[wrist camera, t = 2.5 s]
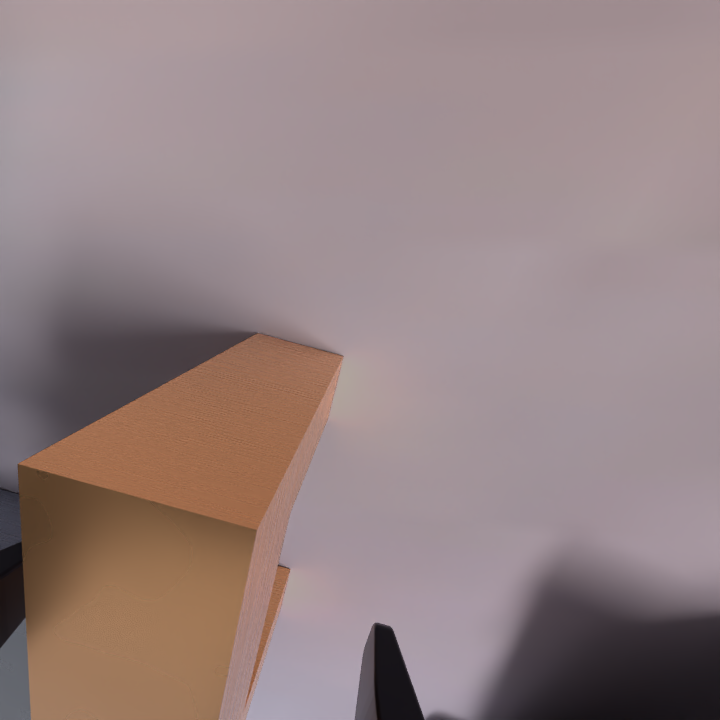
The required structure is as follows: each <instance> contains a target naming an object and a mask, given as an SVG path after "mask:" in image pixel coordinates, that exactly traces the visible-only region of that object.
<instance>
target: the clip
mask: <svg viewBox="0 0 720 720" xmlns="http://www.w3.org/2000/svg"><path fill="white" fill-rule="evenodd" d="M342 360H343V356H341V355H337V354H334V353H330V352H326V351H322V350H319V349H315V348H311V347H308V346H304V345H300V344H296V343H293V342H289V341H285V340H282V339H278V338H274V337H270V336H267V335H263V334H259V333H257V334H255V335H253V336H252V337H250V338H248V339H246V340H244V341H242V342H241V343H239V344H237V345H235V346H233V347H231V348H230V349H228V350H226V351H224V352H222V353H220V354H219V355H217V356H215V357H213V358H211V359H209V360H208V361H206V362H204V363H202V364H200V365H198V366H197V367H195V368H193V369H191V370H189V371H187V372H185V373H184V374H182V375H180V376H178V377H176V378H174V379H173V380H171V381H169V382H167V383H165V384H163V385H162V386H160V387H158V388H156V389H154V390H152V391H151V392H149V393H147V394H145V395H143V396H141V397H140V398H138V399H136V400H134V401H132V402H130V403H129V404H127V405H125V406H123V407H121V408H119V409H118V410H116V411H114V412H112V413H110V414H108V415H107V416H105V417H103V418H101V419H99V420H97V421H96V422H94V423H92V424H90V425H88V426H86V427H85V428H83V429H81V430H79V431H77V432H75V433H73V434H72V435H70V436H68V437H66V438H64V439H62V440H61V441H59V442H57V443H55V444H53V445H51V446H50V447H48V448H46V449H44V450H42V451H40V452H39V453H37V454H35V455H33V456H31V457H29V458H28V459H26V460H24V461H22V462H20V463H18V480H19V499H20V518H21V537H22V556H23V575H24V594H25V614H26V633H27V652H28V671H29V690H30V709H31V720H245V719H246V716H247V713H248V710H249V707H250V704H251V700H252V697H253V694H254V691H255V688H256V685H257V681H258V678H259V675H260V672H261V669H262V666H263V663H264V659H265V656H266V653H267V650H268V647H269V644H270V640H271V637H272V634H273V631H274V628H275V625H276V622H277V618H278V615H279V612H280V609H281V605H282V601H283V597H284V593H285V589H286V585H287V581H288V577H289V573H290V569H287V568H284V567H280V566H278V563H279V558H280V554H281V550H282V546H283V541H284V537H285V533H286V529H287V524H288V520H289V516H290V512H291V510H292V507H293V505H294V502H295V500H296V497H297V495H298V492H299V490H300V487H301V485H302V482H303V480H304V477H305V475H306V472H307V470H308V467H309V465H310V462H311V460H312V457H313V455H314V452H315V450H316V447H317V445H318V442H319V440H320V437H321V435H322V432H323V430H324V427H325V425H326V422H327V420H328V416H329V412H330V408H331V404H332V400H333V396H334V392H335V388H336V384H337V380H338V376H339V372H340V368H341V364H342Z"/></svg>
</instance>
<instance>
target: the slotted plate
mask: <svg viewBox="0 0 720 720" xmlns="http://www.w3.org/2000/svg"><path fill="white" fill-rule="evenodd" d="M20 541H22V537H21V518H20V499H19V494H16V493H12V492H9V491H5V490H1V489H0V550H2V549H4V548H6V547H9V546H11V545H13V544H16V543H18V542H20ZM0 720H31V709H30V690H29V671H28V652H27V633H26V618H25V619H24V620H23V622H22V623H21V624H20V625H19V626H18V628H17V629H16V630H15V631H14V633H13V634H12V635H11V636H10V638H9V639H8V640H7V641H6V642H5V644H4V645H3V646H2V647H1V648H0Z"/></svg>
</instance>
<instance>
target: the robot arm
mask: <svg viewBox="0 0 720 720" xmlns="http://www.w3.org/2000/svg"><path fill="white" fill-rule="evenodd" d="M25 618H26V614H25V594H24V575H23V556H22V541H20V542H18V543H16V544H13V545H11V546H9V547H6V548H4V549H2V550H0V648H1V647H2V646H3V645H4V644H5V642H6V641H7V640H8V639H9V638H10V636H11V635H12V634H13V633H14V631H15V630H16V629H17V628H18V626H19V625H20V624H21V623H22V622H23V620H24V619H25ZM355 720H425V719H424V717H423V714H422V711H421V708H420V705H419V702H418V700H417V697H416V694H415V691H414V688H413V685H412V682H411V680H410V677H409V674H408V671H407V668H406V665H405V662H404V660H403V657H402V654H401V651H400V648H399V645H398V642H397V640H396V637H395V634H394V631H393V629H392V628H391V627H390V626H387V625H384V624H380V623H374V624H373V626H372V629H371V631H370V634H369V637H368V639H367V642H366V645H365V648H364V653H363V658H362V666H361V674H360V682H359V690H358V698H357V706H356V714H355Z"/></svg>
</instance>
